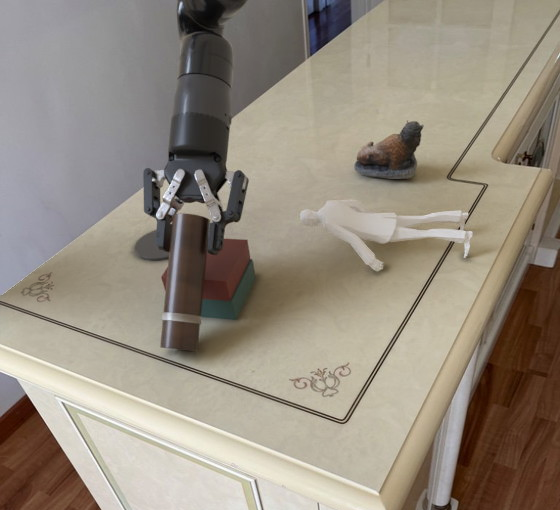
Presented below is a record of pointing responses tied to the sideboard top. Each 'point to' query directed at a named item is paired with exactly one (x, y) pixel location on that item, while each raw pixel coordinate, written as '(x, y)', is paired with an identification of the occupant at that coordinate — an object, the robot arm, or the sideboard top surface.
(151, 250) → the coaster
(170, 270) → the pepper mill
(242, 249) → the red and teal box
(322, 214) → the male figurine
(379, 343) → the sideboard top surface
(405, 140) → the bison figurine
